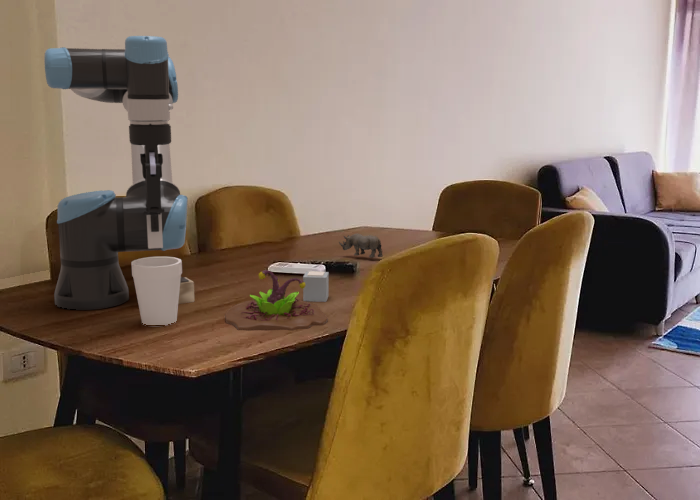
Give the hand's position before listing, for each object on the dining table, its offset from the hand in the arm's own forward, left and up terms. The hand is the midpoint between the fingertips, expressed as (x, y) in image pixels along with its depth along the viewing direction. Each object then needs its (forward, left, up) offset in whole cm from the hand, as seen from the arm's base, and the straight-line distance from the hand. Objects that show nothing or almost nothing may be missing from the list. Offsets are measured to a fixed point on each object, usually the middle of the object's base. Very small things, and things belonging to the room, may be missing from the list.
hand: (155, 247), depth 146 cm
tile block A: (+5, +16, -16) cm, 23 cm away
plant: (+22, -4, -16) cm, 28 cm away
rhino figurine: (+58, +53, -16) cm, 80 cm away
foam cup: (0, -1, -16) cm, 16 cm away
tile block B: (+34, +10, -16) cm, 39 cm away
